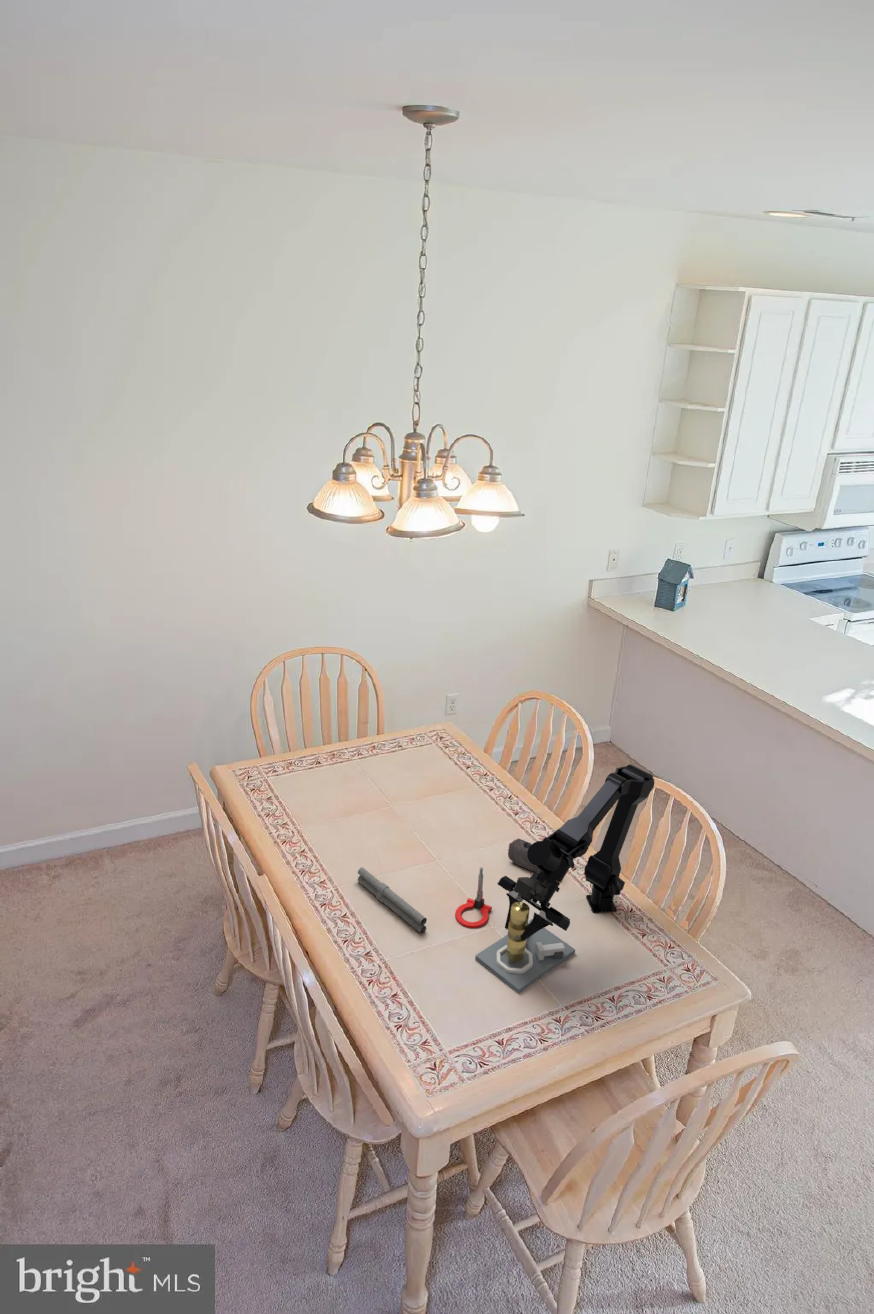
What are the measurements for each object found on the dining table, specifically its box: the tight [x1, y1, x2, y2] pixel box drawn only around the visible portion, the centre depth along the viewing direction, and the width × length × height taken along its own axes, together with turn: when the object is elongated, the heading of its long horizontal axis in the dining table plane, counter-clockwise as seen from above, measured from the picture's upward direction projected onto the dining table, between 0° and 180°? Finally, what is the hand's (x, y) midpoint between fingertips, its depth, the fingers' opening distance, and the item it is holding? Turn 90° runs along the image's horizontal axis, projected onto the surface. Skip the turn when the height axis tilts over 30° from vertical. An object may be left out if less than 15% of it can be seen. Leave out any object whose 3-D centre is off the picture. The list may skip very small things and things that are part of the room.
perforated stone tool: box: [507, 838, 543, 873], centre depth 239 cm, size 15×5×7 cm, turn 54°
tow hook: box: [454, 866, 493, 929], centre depth 219 cm, size 8×13×9 cm
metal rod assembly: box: [357, 867, 427, 934], centre depth 223 cm, size 26×3×5 cm, turn 42°
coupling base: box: [475, 918, 576, 994], centre depth 209 cm, size 20×14×4 cm
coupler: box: [507, 901, 531, 962], centre depth 203 cm, size 5×5×14 cm
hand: (513, 934), depth 202 cm, fingers closed on coupler, 5 cm apart
